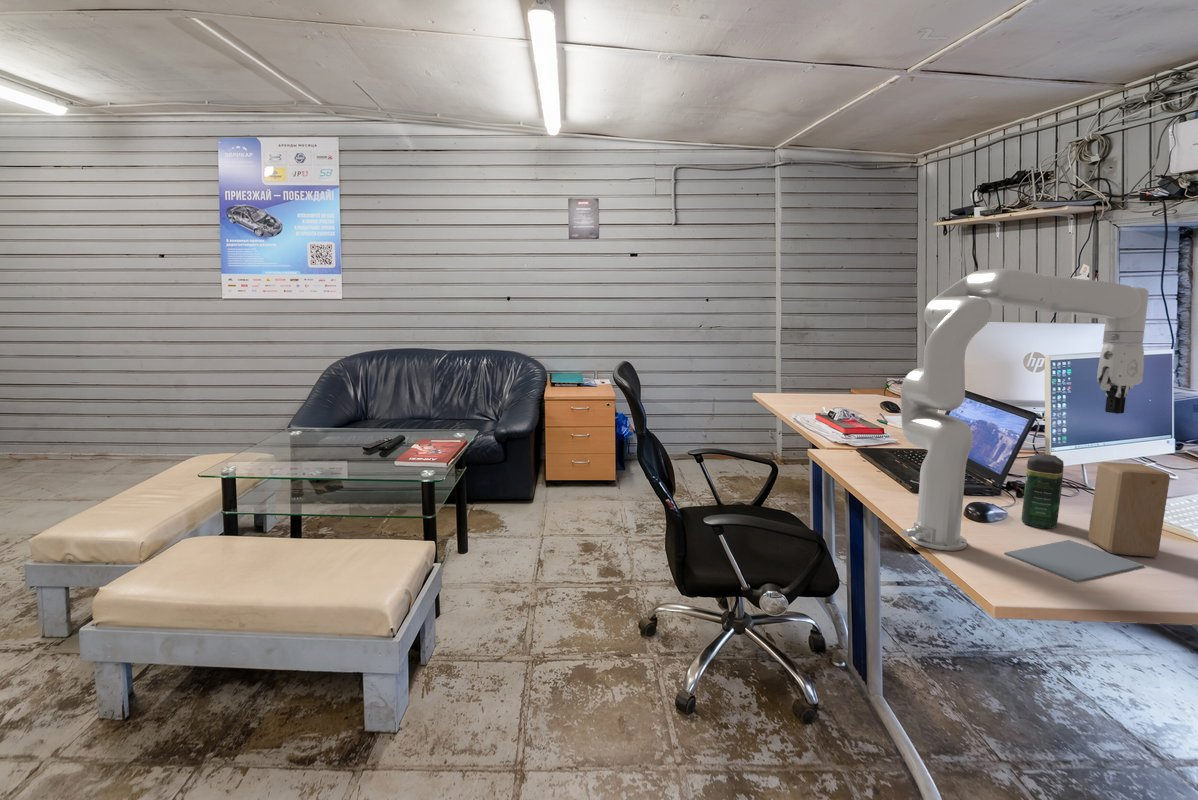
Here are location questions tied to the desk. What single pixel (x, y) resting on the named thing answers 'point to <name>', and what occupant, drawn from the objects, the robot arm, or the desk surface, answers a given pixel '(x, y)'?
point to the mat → (1073, 560)
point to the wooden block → (1128, 508)
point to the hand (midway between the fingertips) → (1114, 412)
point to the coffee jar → (1042, 491)
